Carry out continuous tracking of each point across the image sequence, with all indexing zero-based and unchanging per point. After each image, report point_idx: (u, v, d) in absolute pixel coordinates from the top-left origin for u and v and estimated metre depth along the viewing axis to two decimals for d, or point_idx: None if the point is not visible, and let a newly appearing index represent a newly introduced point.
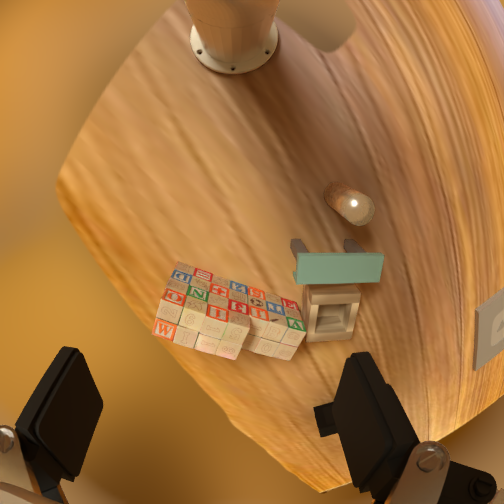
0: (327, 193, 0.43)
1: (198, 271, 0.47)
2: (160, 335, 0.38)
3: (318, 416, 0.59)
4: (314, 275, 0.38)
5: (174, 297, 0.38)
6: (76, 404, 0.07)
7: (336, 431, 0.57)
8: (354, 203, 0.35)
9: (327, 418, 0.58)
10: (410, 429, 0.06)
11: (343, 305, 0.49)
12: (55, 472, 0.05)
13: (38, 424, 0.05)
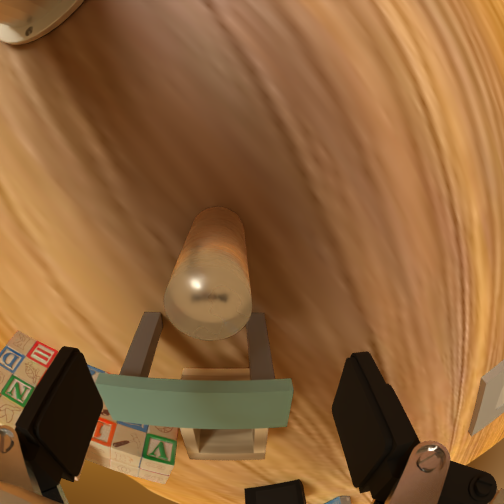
0: None
1: (38, 347, 0.25)
2: None
3: (248, 502, 0.38)
4: (138, 414, 0.16)
5: None
6: (76, 404, 0.07)
7: None
8: (185, 290, 0.13)
9: None
10: (410, 429, 0.06)
11: None
12: (55, 472, 0.05)
13: (38, 424, 0.05)
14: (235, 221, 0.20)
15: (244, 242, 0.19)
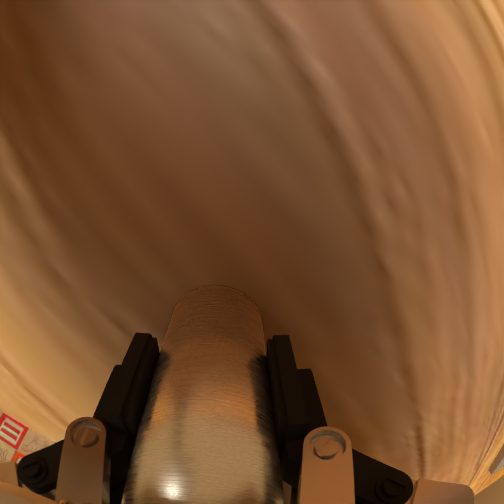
0: None
1: (5, 422, 0.16)
2: None
3: None
4: None
5: None
6: None
7: None
8: None
9: None
10: (320, 414, 0.07)
11: None
12: None
13: (128, 410, 0.06)
14: (248, 324, 0.10)
15: (267, 375, 0.09)
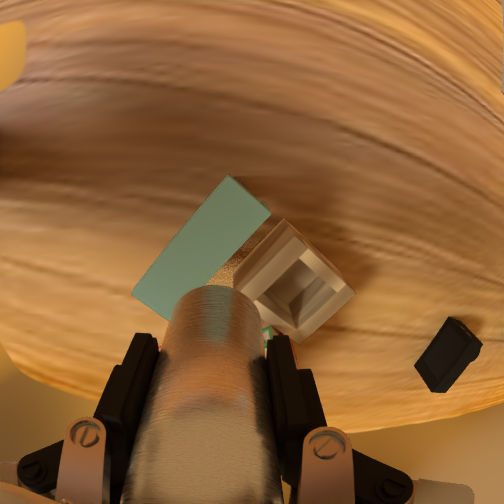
0: None
1: None
2: None
3: (424, 374, 0.39)
4: (173, 296, 0.23)
5: None
6: None
7: (457, 375, 0.35)
8: None
9: (434, 371, 0.37)
10: (320, 414, 0.07)
11: None
12: None
13: (128, 410, 0.06)
14: (247, 324, 0.10)
15: (266, 375, 0.09)
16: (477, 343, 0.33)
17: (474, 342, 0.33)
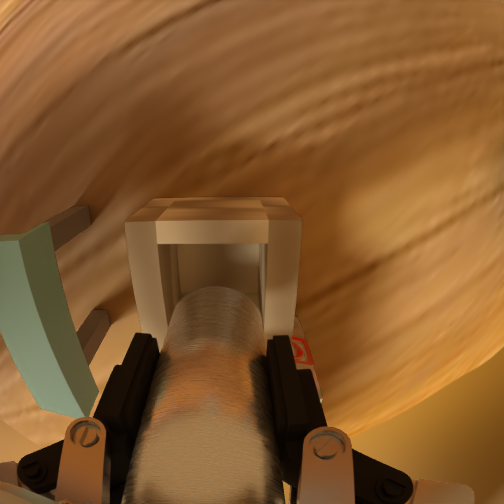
0: None
1: None
2: None
3: None
4: (58, 394, 0.13)
5: None
6: None
7: None
8: None
9: None
10: (320, 414, 0.07)
11: None
12: None
13: (128, 410, 0.06)
14: (249, 325, 0.10)
15: (267, 376, 0.09)
16: None
17: None
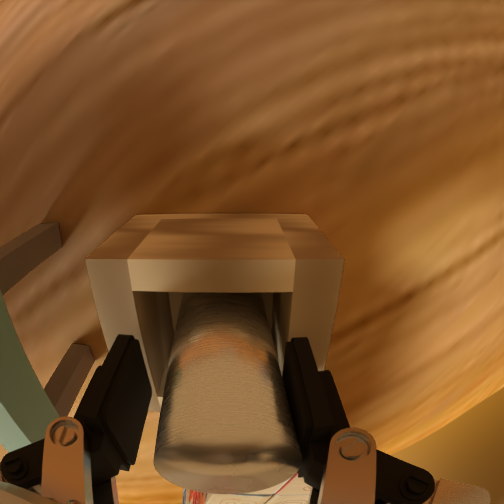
0: (181, 300, 0.14)
1: None
2: None
3: None
4: None
5: None
6: (134, 390, 0.09)
7: None
8: (189, 457, 0.06)
9: None
10: (342, 415, 0.07)
11: None
12: (115, 461, 0.06)
13: (106, 411, 0.06)
14: None
15: (268, 324, 0.12)
16: None
17: None
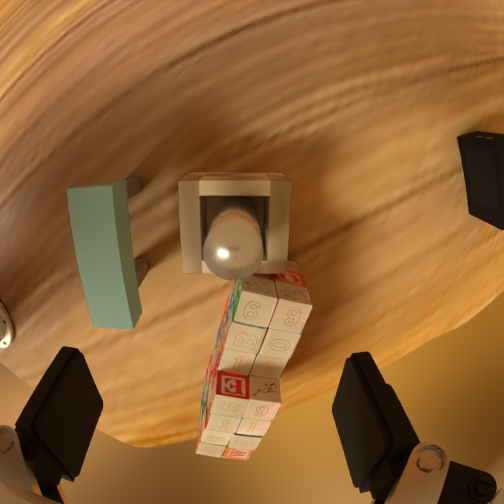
0: None
1: (208, 370, 0.37)
2: (247, 456, 0.28)
3: (483, 216, 0.28)
4: (115, 306, 0.22)
5: (199, 437, 0.29)
6: (76, 404, 0.07)
7: None
8: (218, 241, 0.19)
9: (489, 205, 0.26)
10: (410, 429, 0.06)
11: None
12: (55, 472, 0.05)
13: (38, 424, 0.05)
14: (250, 204, 0.27)
15: (257, 218, 0.25)
16: None
17: (500, 141, 0.21)
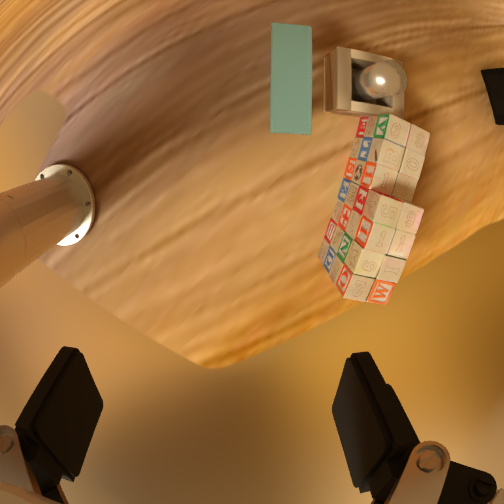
0: None
1: (327, 235, 0.41)
2: (387, 296, 0.32)
3: None
4: (299, 111, 0.26)
5: (344, 279, 0.33)
6: (76, 404, 0.07)
7: None
8: (383, 67, 0.24)
9: None
10: (410, 429, 0.06)
11: (359, 66, 0.31)
12: (55, 472, 0.05)
13: (38, 424, 0.05)
14: None
15: None
16: None
17: None
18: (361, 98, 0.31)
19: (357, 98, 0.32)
